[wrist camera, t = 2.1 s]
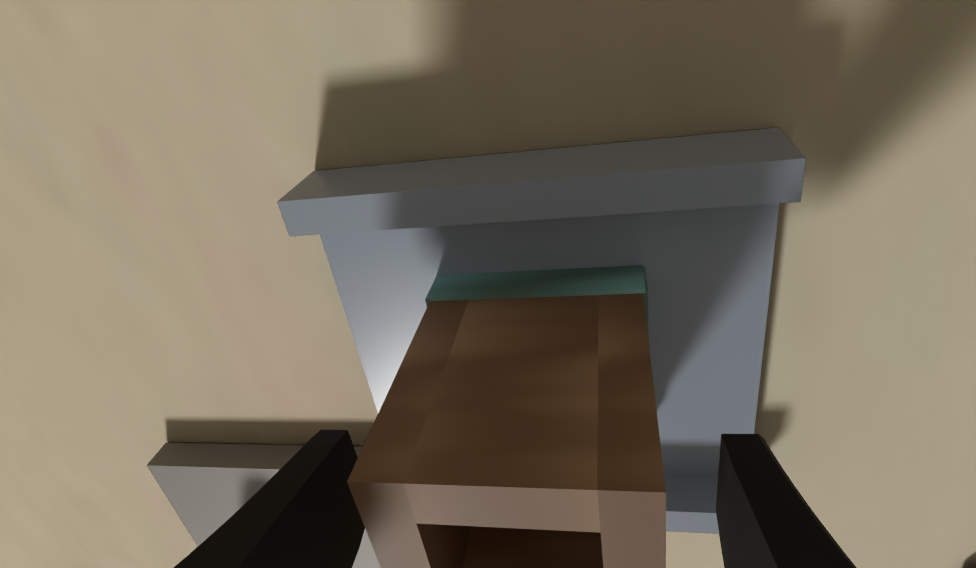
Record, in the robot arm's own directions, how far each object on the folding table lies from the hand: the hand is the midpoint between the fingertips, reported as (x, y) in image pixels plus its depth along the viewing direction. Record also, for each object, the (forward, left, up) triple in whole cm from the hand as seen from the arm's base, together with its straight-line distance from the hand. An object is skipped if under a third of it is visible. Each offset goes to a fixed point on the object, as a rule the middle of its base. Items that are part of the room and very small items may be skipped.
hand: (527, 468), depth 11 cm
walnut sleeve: (0, 0, -4) cm, 4 cm away
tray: (0, 0, -4) cm, 4 cm away
